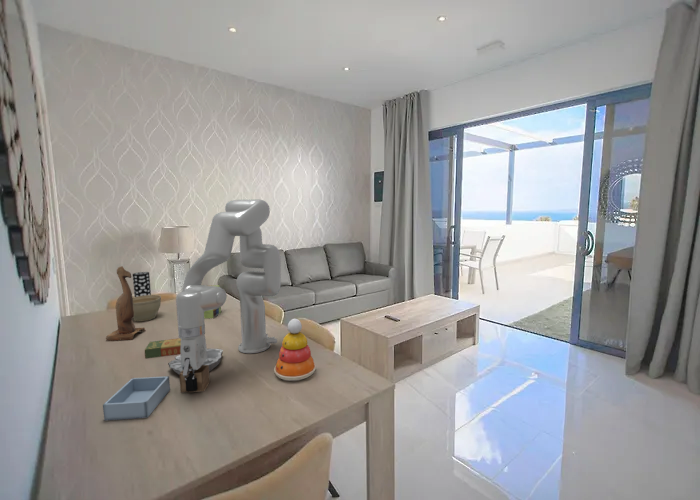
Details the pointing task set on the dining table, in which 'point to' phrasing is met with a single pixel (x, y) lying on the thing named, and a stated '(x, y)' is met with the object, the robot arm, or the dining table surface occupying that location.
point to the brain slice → (211, 360)
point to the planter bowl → (146, 307)
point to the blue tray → (136, 398)
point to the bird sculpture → (124, 311)
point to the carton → (163, 348)
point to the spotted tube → (141, 284)
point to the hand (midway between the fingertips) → (195, 384)
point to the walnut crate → (201, 376)
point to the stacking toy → (294, 355)
